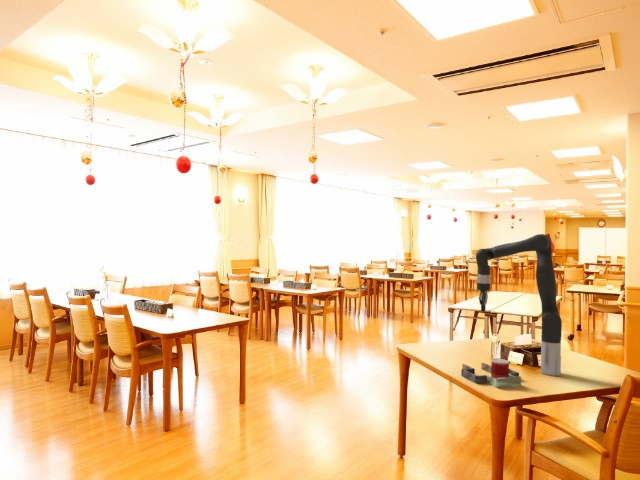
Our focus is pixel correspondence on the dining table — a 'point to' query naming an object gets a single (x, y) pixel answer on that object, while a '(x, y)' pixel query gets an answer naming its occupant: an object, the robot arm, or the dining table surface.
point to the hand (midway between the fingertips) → (483, 311)
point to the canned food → (499, 368)
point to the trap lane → (498, 382)
